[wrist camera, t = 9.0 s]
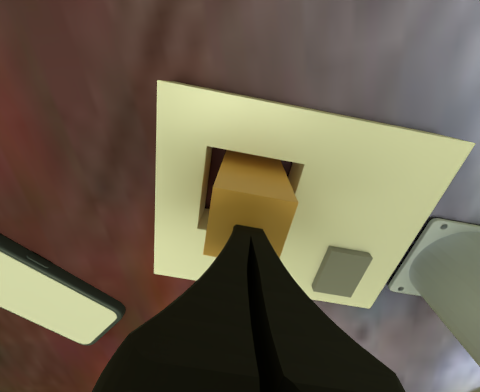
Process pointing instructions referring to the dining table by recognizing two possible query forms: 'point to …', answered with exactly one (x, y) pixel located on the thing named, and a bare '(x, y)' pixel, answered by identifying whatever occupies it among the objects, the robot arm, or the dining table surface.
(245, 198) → the plug
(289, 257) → the socket plate
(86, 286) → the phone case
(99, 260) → the dining table surface
